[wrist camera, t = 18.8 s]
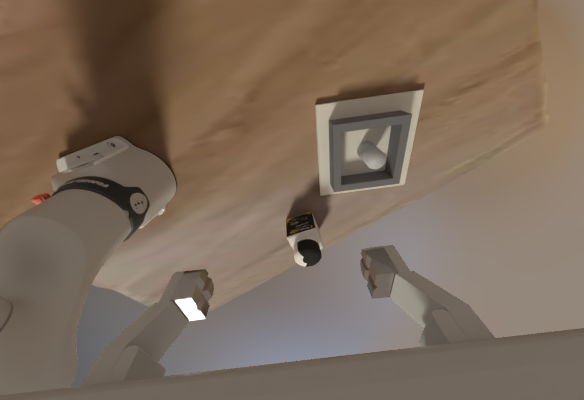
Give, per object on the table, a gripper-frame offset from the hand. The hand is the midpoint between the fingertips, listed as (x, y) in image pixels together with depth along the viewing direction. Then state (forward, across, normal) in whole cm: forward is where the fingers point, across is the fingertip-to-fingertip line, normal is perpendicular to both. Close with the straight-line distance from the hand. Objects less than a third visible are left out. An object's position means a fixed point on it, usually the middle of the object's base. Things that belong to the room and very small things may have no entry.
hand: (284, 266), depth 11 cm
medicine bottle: (+35, +2, -27) cm, 45 cm away
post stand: (+35, +17, -8) cm, 40 cm away
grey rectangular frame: (+34, +16, -8) cm, 39 cm away
